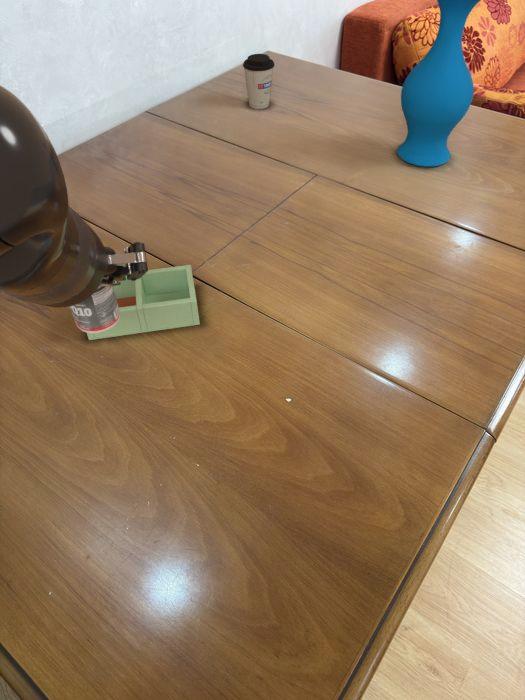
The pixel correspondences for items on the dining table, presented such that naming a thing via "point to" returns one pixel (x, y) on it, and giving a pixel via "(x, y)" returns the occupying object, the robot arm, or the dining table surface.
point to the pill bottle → (97, 311)
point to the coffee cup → (258, 79)
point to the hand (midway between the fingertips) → (89, 278)
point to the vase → (437, 90)
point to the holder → (154, 302)
